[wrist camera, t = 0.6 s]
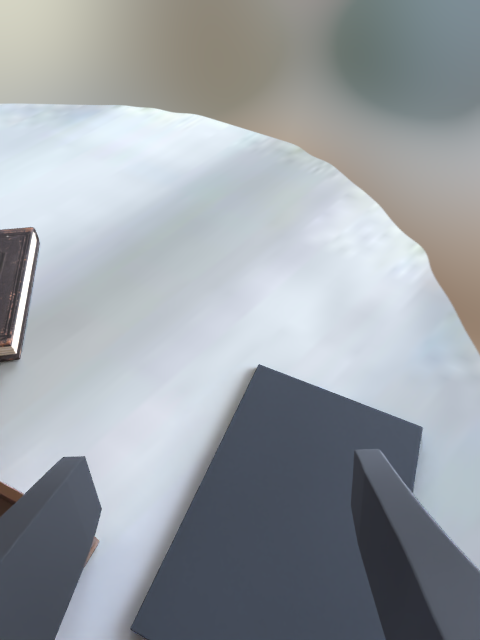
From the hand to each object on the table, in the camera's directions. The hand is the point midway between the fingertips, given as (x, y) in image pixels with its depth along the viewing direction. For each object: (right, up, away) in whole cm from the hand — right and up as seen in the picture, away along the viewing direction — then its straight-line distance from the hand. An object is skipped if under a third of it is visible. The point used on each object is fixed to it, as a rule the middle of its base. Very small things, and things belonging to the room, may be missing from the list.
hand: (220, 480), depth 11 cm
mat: (+5, -9, +17) cm, 20 cm away
